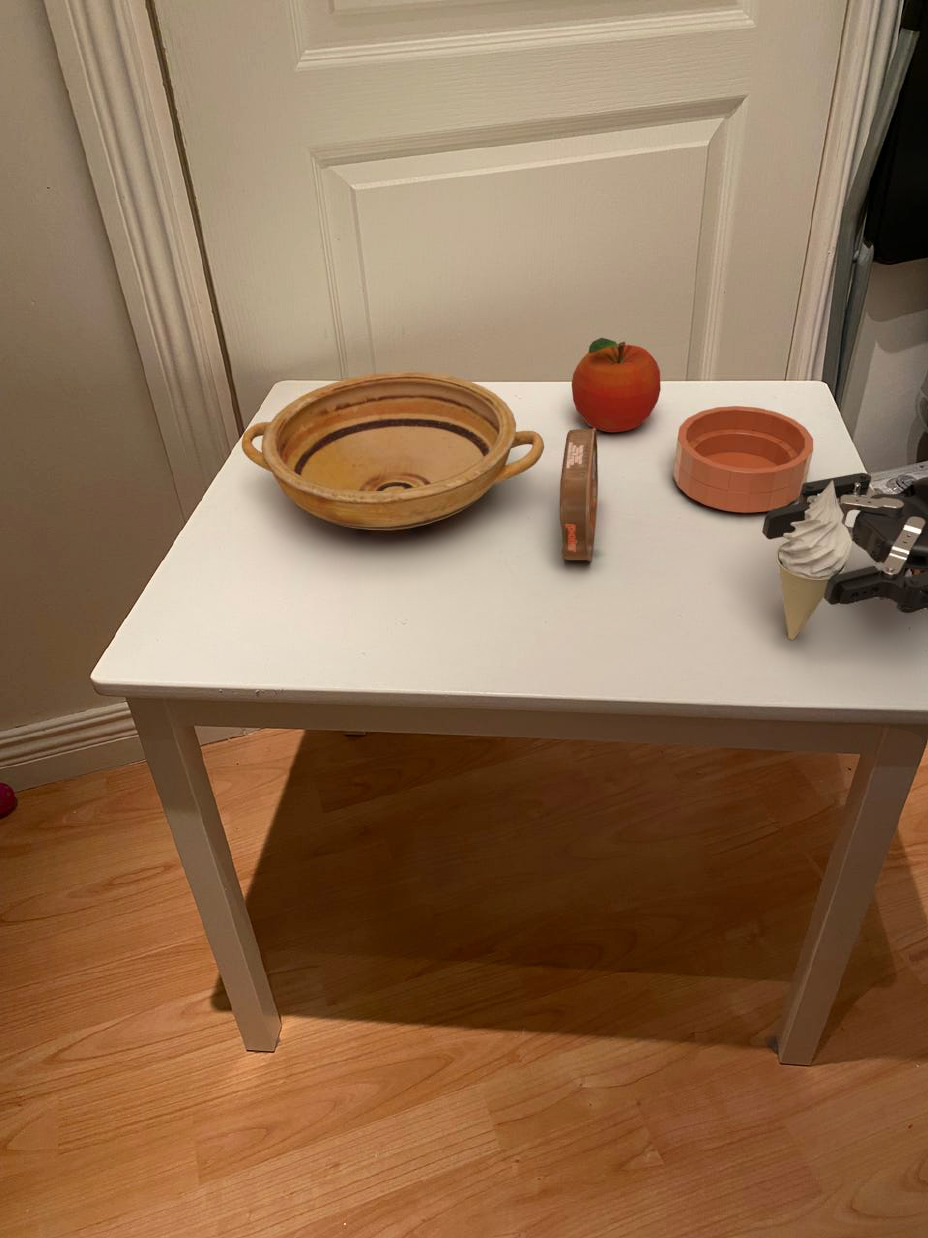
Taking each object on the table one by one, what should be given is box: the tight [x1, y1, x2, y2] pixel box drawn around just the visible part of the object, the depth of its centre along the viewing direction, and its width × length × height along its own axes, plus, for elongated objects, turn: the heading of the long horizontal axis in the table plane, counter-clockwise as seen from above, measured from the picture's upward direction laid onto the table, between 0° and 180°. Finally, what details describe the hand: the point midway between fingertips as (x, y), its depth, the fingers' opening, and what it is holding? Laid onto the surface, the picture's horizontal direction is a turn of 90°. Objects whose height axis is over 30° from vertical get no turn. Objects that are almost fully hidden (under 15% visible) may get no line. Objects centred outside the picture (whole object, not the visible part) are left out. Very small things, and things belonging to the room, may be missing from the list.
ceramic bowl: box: [241, 371, 545, 531], centre depth 91 cm, size 30×24×8 cm
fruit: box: [571, 337, 662, 433], centre depth 100 cm, size 10×10×10 cm
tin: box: [558, 427, 599, 562], centre depth 86 cm, size 15×3×8 cm, turn 171°
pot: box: [672, 405, 814, 514], centre depth 92 cm, size 13×13×5 cm
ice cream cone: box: [775, 481, 854, 641], centre depth 71 cm, size 5×5×15 cm
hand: (795, 557), depth 70 cm, fingers open, 8 cm apart
